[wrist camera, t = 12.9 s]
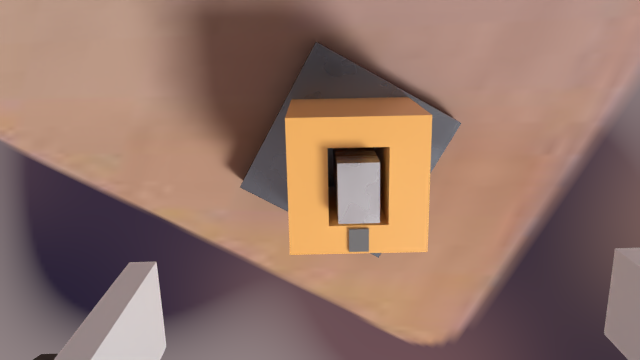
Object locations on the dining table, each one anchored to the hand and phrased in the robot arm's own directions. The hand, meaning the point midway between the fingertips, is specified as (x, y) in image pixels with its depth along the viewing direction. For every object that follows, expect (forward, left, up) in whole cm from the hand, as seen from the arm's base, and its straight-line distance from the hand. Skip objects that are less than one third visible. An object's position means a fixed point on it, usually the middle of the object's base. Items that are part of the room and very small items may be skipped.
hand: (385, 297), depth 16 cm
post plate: (0, 0, -20) cm, 20 cm away
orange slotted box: (0, 0, -19) cm, 19 cm away
